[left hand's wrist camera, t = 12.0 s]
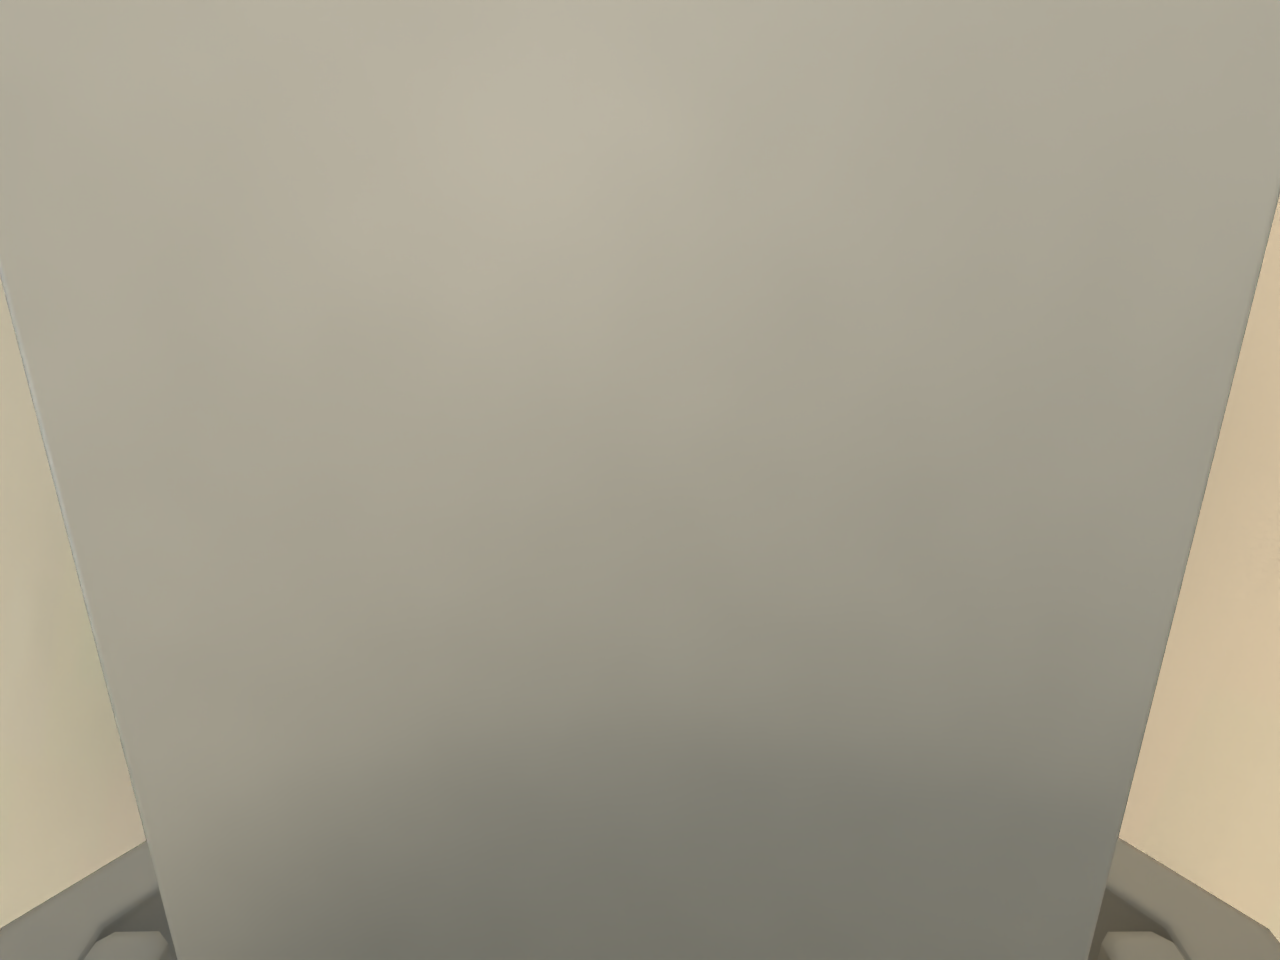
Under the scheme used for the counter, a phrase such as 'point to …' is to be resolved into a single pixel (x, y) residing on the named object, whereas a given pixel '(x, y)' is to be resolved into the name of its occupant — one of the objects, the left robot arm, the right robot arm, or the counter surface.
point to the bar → (633, 450)
